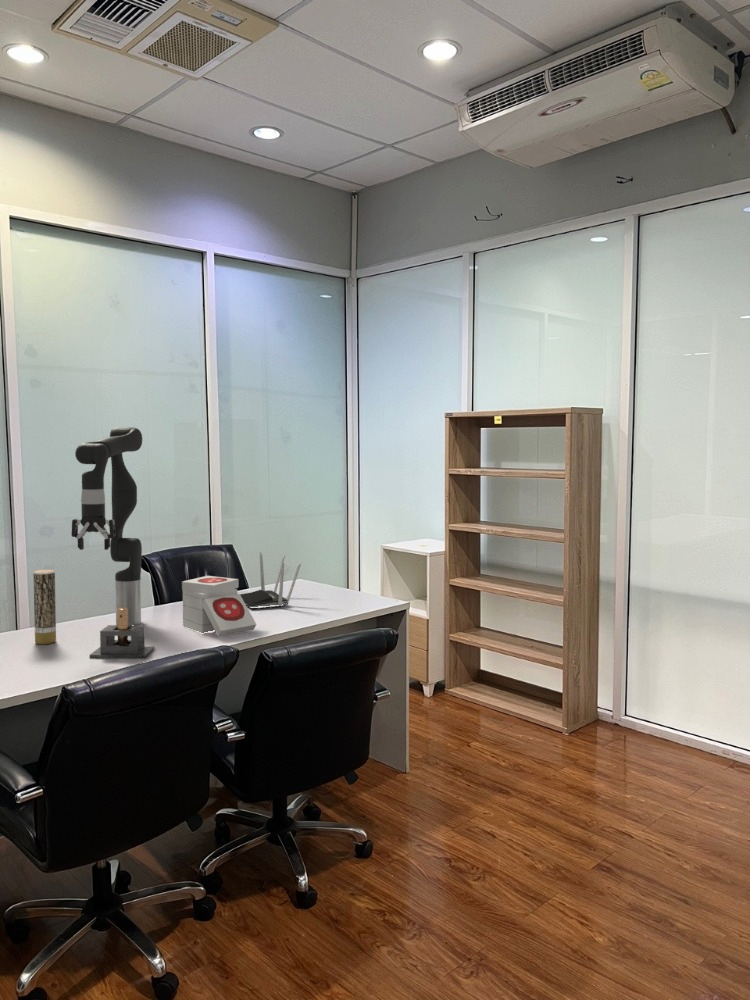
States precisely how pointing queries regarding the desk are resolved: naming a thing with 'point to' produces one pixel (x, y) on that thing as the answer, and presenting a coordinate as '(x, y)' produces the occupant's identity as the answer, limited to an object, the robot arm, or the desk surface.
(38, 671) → the desk surface
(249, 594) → the wireless router
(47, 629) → the bark log
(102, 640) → the stand
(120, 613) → the tan wooden rod
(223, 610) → the stack of pizza boxes
